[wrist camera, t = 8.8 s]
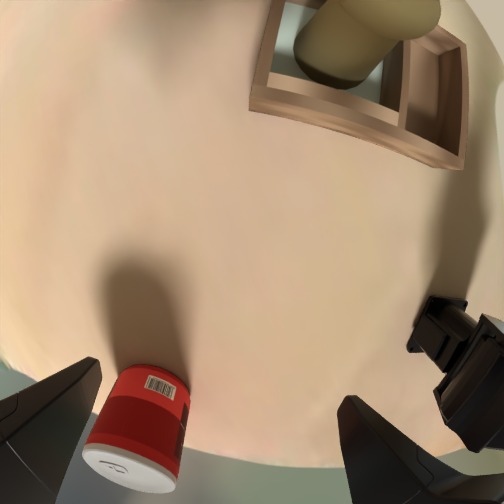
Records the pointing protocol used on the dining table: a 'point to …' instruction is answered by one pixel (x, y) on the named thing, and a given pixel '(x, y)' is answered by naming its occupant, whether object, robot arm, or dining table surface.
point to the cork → (359, 37)
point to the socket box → (372, 91)
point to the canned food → (141, 430)
